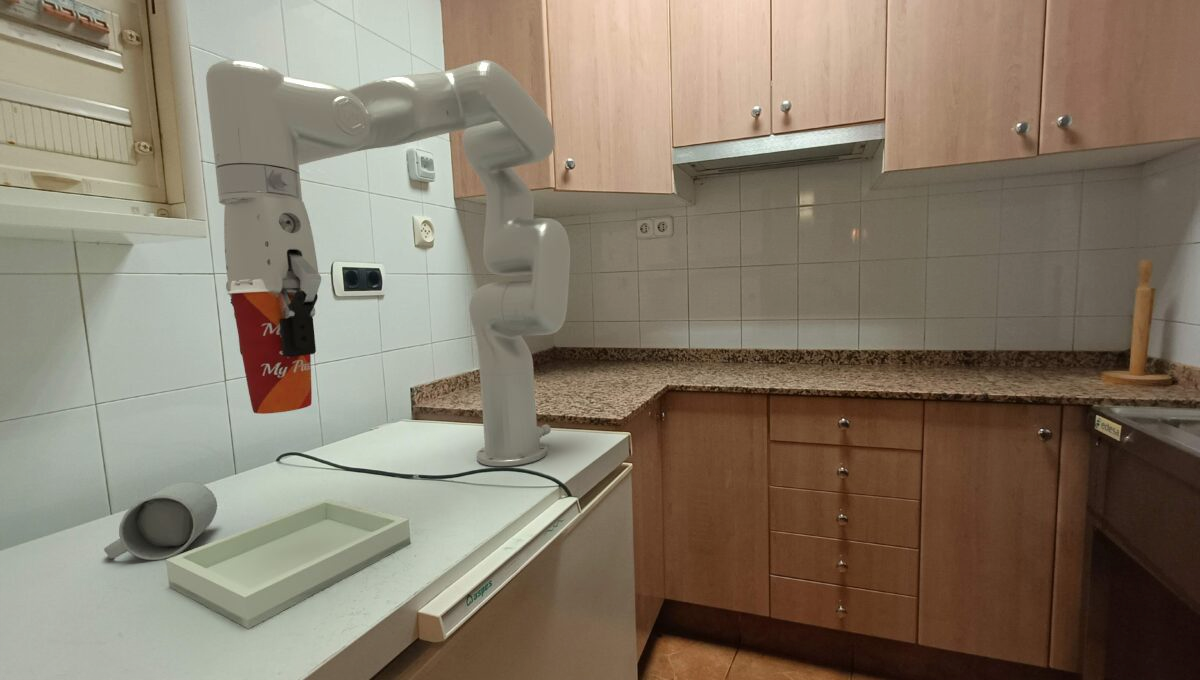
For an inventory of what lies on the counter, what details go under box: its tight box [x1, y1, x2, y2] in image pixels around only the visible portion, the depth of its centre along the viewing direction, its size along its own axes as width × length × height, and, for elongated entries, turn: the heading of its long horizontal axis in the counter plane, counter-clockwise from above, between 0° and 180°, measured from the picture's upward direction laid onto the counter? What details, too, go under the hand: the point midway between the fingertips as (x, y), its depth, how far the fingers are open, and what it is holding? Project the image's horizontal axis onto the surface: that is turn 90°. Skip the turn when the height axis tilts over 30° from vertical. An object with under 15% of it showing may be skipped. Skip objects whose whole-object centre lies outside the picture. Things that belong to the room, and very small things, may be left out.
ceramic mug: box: [103, 481, 218, 561], centre depth 65 cm, size 11×8×8 cm
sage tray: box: [165, 498, 412, 630], centre depth 59 cm, size 18×16×3 cm
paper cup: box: [227, 279, 312, 415], centre depth 57 cm, size 8×8×14 cm
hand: (277, 353), depth 57 cm, fingers closed on paper cup, 7 cm apart
